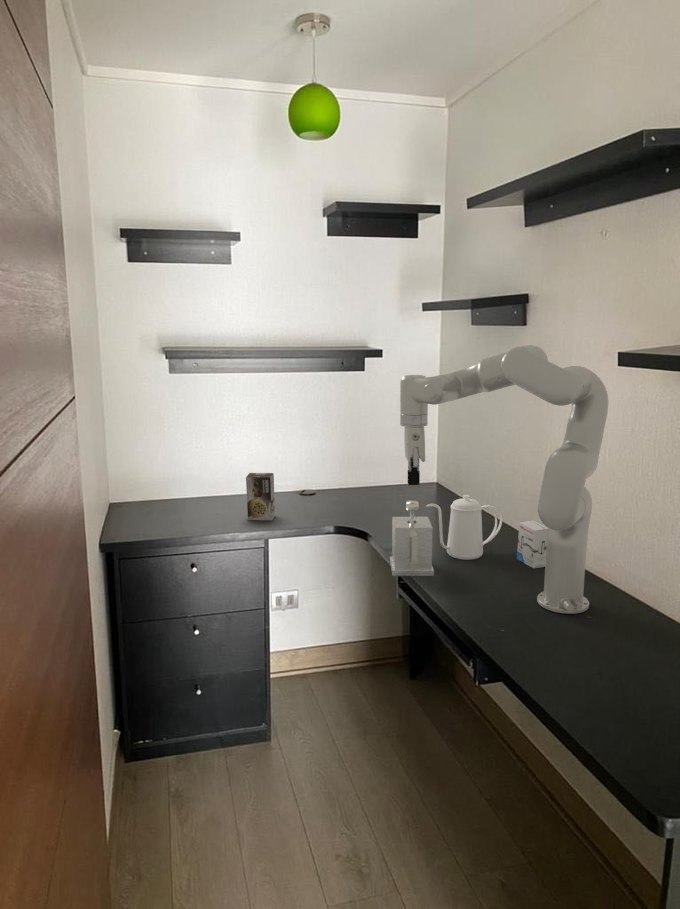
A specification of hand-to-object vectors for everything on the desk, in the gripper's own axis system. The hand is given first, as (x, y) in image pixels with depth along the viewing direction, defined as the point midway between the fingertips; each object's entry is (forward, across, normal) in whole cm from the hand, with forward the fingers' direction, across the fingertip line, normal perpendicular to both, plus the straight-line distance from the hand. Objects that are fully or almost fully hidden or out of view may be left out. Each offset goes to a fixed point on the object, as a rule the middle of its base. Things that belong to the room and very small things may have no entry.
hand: (413, 484), depth 194 cm
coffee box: (+25, +50, +50) cm, 75 cm away
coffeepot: (+26, +11, -16) cm, 32 cm away
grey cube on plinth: (+25, -1, +1) cm, 25 cm away
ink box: (+26, +4, -36) cm, 44 cm away
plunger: (+23, 0, 0) cm, 23 cm away
